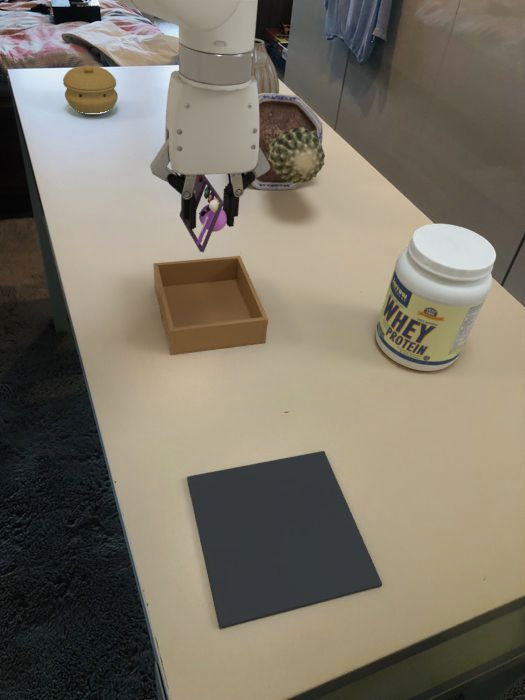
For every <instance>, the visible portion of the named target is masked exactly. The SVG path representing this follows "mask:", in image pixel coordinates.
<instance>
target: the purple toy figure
mask: <svg viewBox="0 0 525 700" xmlns="http://www.w3.org/2000/svg"><path fill="white" fill-rule="evenodd" d="M193 192H194V195H195V198H196V201H197V207H196V211H197V210H198V207H199V205H200V202H201V199H202V197H204V198H205V200H207V203H208V204H206V205H205V206H204V207H202V209H201V210H200V211H199V212H198V220H199V222H200V223H201V225H202V227H201V230H200V232H199V235H198V237H197V235H196V234H195V232H194V229H190V228H189V225H188V222H187V220H183V219H182V215H181V211H179V217H180V220H181V221H182V223H183V225H184V226H185V228H186V230H187V231H188V234H189V235H190V237H191V238H192V240H193V242H194V243H195V246H196V247H197V249H198V251H199V252H200V253H204V252H205V250H206V248H207V246H208V243H209V240H210V238H211V236H212V233H214V232H215V233H216V232H219V231H221V230H223V229H224V228H225V227H226V226H227V224H226V222H227V215H226V213H225V211H224V210H223V198H221V197H220V195H219V194H218V192H217V191H216V190H215V188H214V186H213V185H212V184H211V182H210V181H209V179H208V178H207V177H206V175H197V177H196V181H195V186H194V190H193ZM206 231H207V232H206ZM204 236H205V237H204ZM203 238H204V240H203Z"/></svg>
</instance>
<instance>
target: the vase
mask: <svg viewBox="0 0 525 700" xmlns="http://www.w3.org/2000/svg"><path fill="white" fill-rule="evenodd" d="M265 45H266V44H265V41H264V40H262V39H260V38H255V41H254V48H255V49H256V51H259V52H264V53H265V54H266V65H265V67H258V68H255V71H254V77H255V79H256V81H257V88H258V95H259V94H261V93H275V94H280V81H279V77H278V76H279V75H278V72H277V69H276V66H275V65H274V63H273V60H272V59H271V57H270V56H269V54H268V52H267V49H266V46H265Z"/></svg>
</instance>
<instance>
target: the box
mask: <svg viewBox="0 0 525 700" xmlns="http://www.w3.org/2000/svg"><path fill="white" fill-rule="evenodd" d="M152 265H153V282H154V283H153V284H154V290H155V294H156V298H157V303H158V307H159V312H160V316H161V320H162V324H163V328H164V332H165V337H166V340H167V345H168V349H169V354H170V356H173V355H181V354H188V353H199V352H205V351H212V350H220V349H221V350H222V349H228V348H235V347H244V346H249V345H250V346H251V345H252V346H253V345H259V344H264V343H266V339H267V334H268V333H267V332H268V324H269V318H268V315H267V313H266V311H265V309H264V306H263V305H262V301H261V300H260V297H259V295H258V293H257V291H256V288H255V286H254V284H253V281H252V279H251V277H250V275H249V272H248V270H247V268H246V265H245V263H244V262H243V258H242V256H241V255H235V256H234V255H233V256H221V257H211V258H210V257H209V258H199V259H187V260H178V261H177V260H176V261H175V260H174V261H165V262H154V263H152Z"/></svg>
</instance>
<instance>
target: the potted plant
mask: <svg viewBox="0 0 525 700" xmlns="http://www.w3.org/2000/svg"><path fill="white" fill-rule="evenodd" d="M258 98H259V147H260V148H261V150H262V152H263V154H264V155H265V157H266V159H267V161H268V162H269V164H270V170H268V171H267V172H266V173H264V174H262V175H261V176H259V177H257V178H255V180H254V182H252V183H251V184H250V185H251V186H253V187H254V188H256V189H257V190H264V191H266V190H268V191H269V190H270V191H275V190H279V191H282V190H293V189H295V188H296V187H298V186H299V185H300V184H303V183H307V182H310V181H311V180H312V179H313V178H317V176H318V173H319V172H320V171H321V170H322V168H323V166H324V165H325V157H326V155H325V151H324V148H323V145H322V144H323V133H324V132H323V129H324V128H323V123H322V121H321V119H320V118H319V116H318V115H317V114H316V113H315V111H314V110H313V109H312V108H311V107H310V106H309V105H308V104H307V103H306V102H305V100H303V99H302V98H301V97H300V96H298V95H296V94H283V93H279V94H275V93H261V94H259V95H258Z"/></svg>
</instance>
